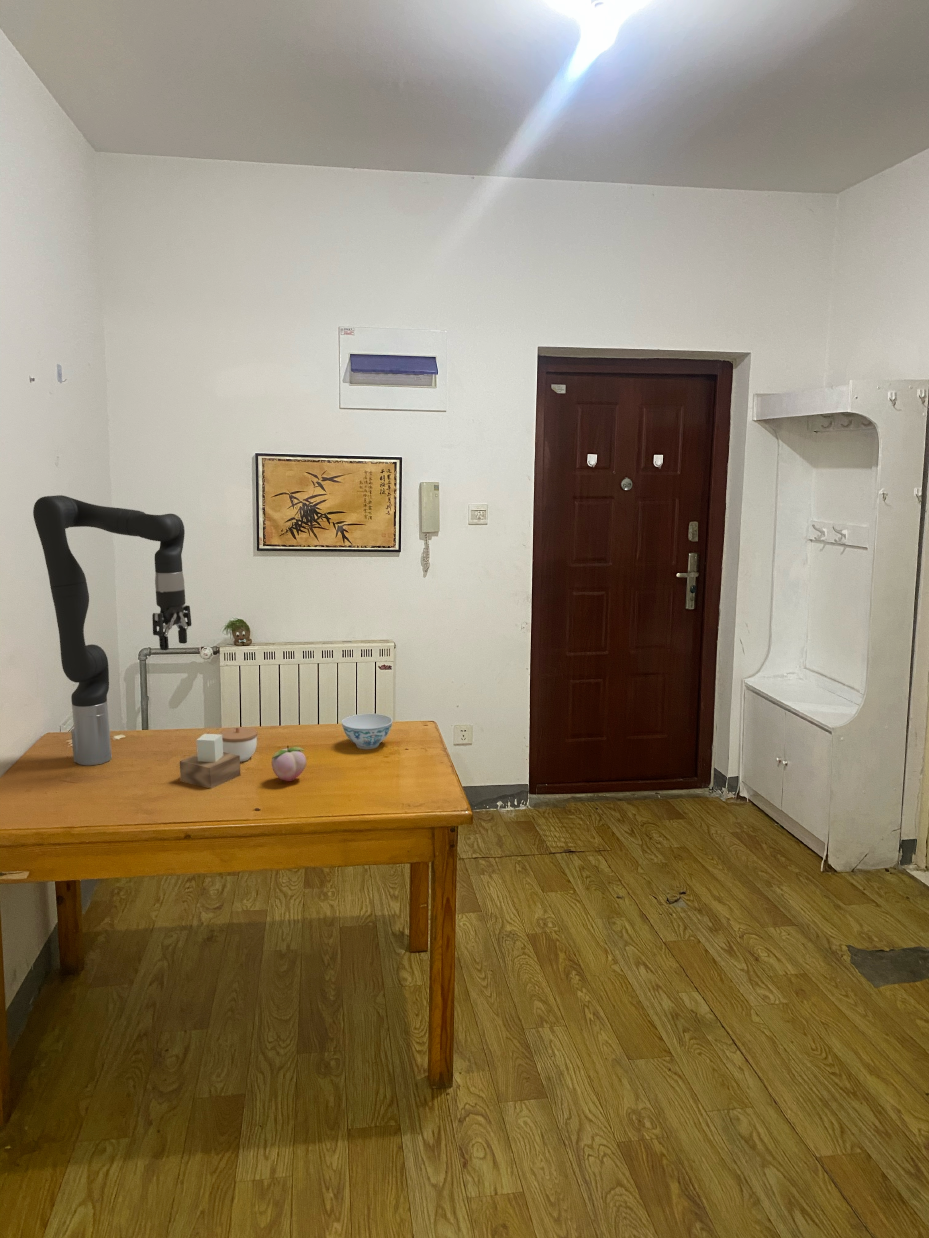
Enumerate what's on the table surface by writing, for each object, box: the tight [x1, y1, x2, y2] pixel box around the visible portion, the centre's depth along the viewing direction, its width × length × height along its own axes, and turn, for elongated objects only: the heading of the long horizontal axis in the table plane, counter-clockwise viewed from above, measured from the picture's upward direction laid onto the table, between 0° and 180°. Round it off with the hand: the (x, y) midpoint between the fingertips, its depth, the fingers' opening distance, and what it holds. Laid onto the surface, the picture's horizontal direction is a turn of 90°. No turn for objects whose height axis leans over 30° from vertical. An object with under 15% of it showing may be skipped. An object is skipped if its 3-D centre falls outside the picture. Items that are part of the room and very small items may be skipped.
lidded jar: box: [218, 726, 258, 763], centre depth 255 cm, size 11×11×9 cm
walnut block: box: [179, 752, 242, 789], centre depth 240 cm, size 11×11×6 cm
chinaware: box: [341, 713, 393, 750], centre depth 266 cm, size 15×15×8 cm
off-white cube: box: [196, 733, 223, 762], centre depth 239 cm, size 5×5×6 cm
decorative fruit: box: [271, 745, 307, 782], centre depth 238 cm, size 9×8×10 cm
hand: (173, 646), depth 245 cm, fingers open, 8 cm apart
